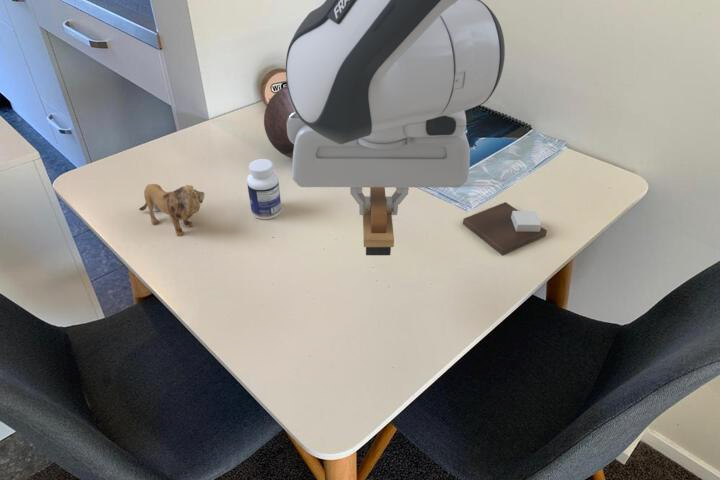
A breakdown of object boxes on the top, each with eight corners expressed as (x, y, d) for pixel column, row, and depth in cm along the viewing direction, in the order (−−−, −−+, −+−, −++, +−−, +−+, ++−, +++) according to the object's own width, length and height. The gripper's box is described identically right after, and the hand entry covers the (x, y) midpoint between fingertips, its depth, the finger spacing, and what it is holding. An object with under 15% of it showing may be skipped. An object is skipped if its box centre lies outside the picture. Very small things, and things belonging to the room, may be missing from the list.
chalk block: (539, 231, 88) (541, 224, 87) (516, 231, 88) (517, 224, 87) (533, 217, 91) (535, 210, 90) (510, 217, 91) (512, 210, 90)
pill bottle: (250, 205, 96) (243, 158, 90) (279, 201, 97) (274, 154, 91) (252, 222, 92) (245, 174, 85) (283, 218, 93) (278, 170, 86)
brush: (393, 256, 64) (395, 219, 60) (363, 256, 63) (364, 219, 60) (389, 215, 70) (391, 179, 66) (362, 215, 70) (362, 179, 66)
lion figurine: (215, 225, 91) (206, 181, 85) (196, 243, 87) (185, 198, 81) (150, 204, 95) (137, 161, 90) (128, 220, 92) (114, 176, 86)
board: (545, 236, 89) (547, 230, 88) (502, 255, 85) (503, 250, 84) (504, 207, 96) (505, 201, 95) (462, 224, 92) (463, 218, 91)
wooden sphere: (286, 180, 102) (279, 109, 93) (256, 148, 112) (247, 80, 103) (352, 161, 108) (352, 91, 99) (318, 132, 118) (315, 66, 109)
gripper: (281, 120, 53) (291, 228, 62) (482, 121, 53) (463, 228, 62) (287, 94, 58) (295, 197, 67) (471, 95, 58) (455, 198, 67)
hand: (378, 212), depth 64 cm, fingers closed on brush, 2 cm apart
